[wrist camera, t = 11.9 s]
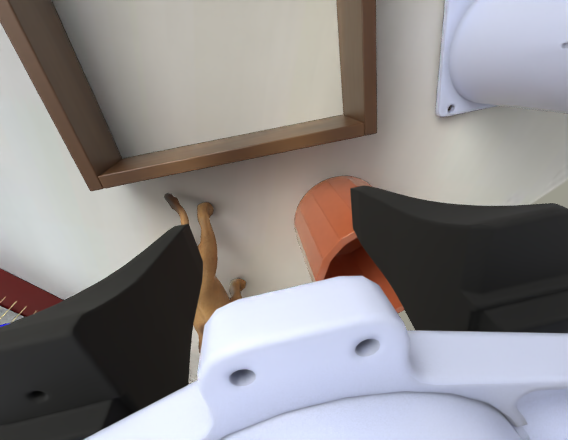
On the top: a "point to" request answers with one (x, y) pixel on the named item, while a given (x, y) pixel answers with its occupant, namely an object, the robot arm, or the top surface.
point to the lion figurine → (207, 268)
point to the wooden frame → (116, 171)
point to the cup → (335, 235)
